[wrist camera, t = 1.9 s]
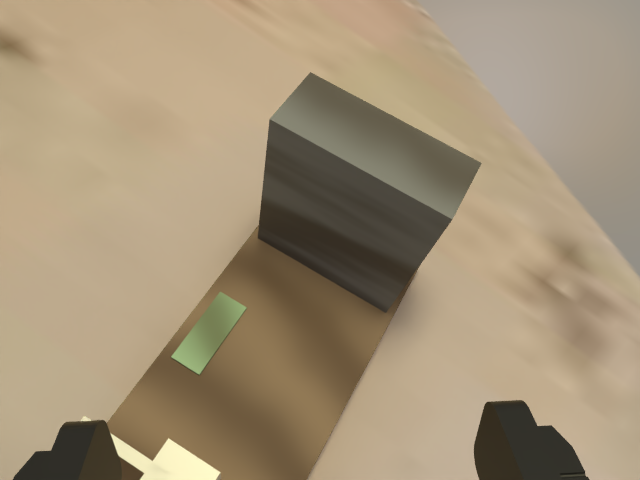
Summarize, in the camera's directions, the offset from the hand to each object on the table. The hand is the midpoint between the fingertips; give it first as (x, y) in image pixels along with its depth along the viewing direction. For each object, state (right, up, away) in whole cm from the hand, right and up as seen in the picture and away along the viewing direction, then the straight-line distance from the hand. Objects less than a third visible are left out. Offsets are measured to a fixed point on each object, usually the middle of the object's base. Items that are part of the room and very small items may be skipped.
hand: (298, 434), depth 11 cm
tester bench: (-5, -7, +20) cm, 22 cm away
